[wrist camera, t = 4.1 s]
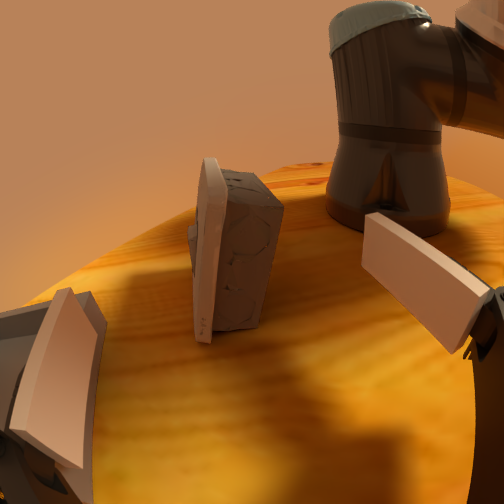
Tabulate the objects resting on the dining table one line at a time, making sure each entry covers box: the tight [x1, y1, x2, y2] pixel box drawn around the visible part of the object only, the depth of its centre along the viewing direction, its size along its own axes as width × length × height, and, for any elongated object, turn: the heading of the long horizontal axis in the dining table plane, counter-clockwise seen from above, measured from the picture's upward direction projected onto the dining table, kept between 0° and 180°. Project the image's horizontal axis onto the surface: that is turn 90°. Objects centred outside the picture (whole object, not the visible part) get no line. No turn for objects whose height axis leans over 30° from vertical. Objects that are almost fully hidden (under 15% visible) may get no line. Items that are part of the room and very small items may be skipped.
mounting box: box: [0, 291, 107, 504], centre depth 10 cm, size 13×14×3 cm
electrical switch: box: [187, 158, 284, 344], centre depth 17 cm, size 9×5×9 cm, turn 11°
